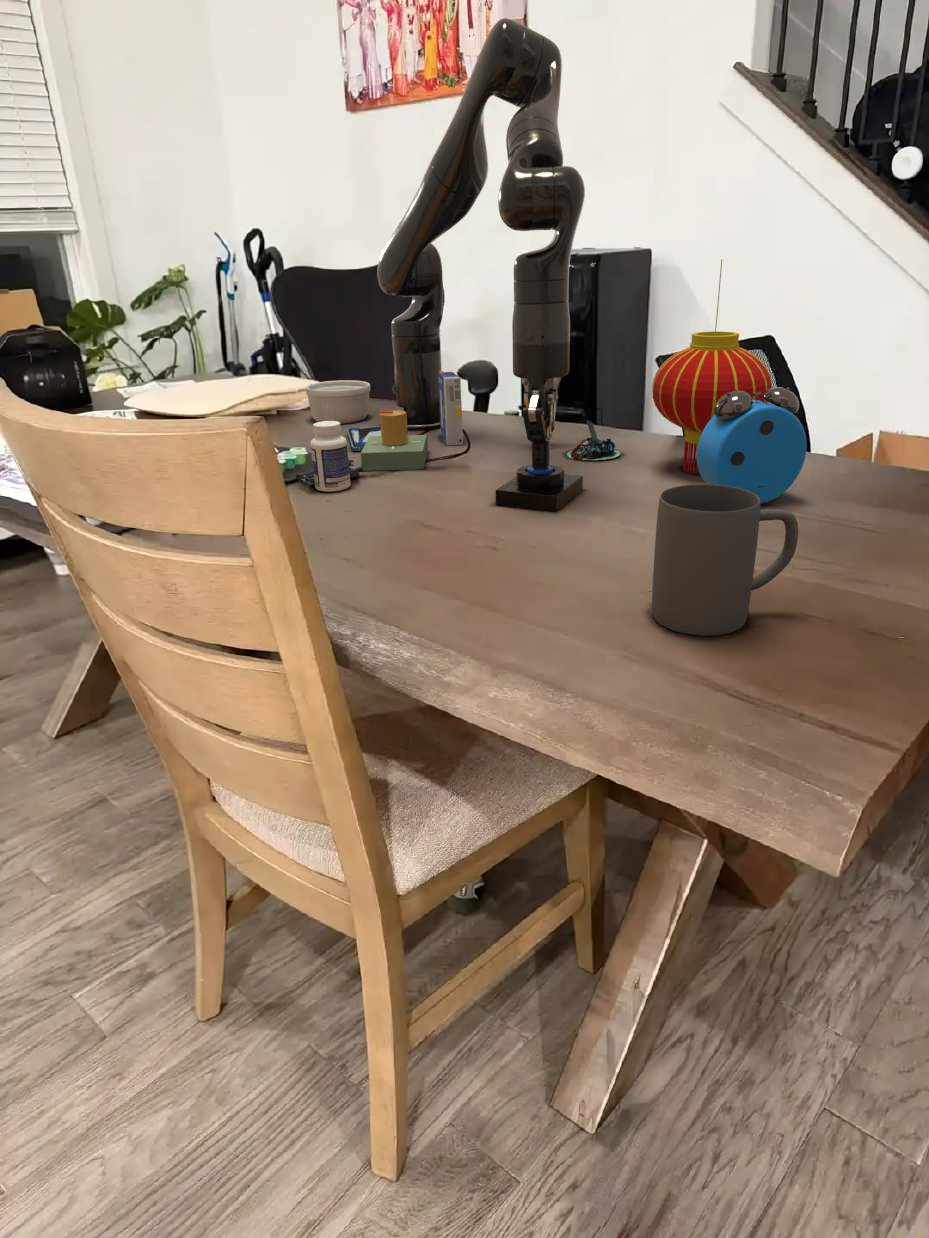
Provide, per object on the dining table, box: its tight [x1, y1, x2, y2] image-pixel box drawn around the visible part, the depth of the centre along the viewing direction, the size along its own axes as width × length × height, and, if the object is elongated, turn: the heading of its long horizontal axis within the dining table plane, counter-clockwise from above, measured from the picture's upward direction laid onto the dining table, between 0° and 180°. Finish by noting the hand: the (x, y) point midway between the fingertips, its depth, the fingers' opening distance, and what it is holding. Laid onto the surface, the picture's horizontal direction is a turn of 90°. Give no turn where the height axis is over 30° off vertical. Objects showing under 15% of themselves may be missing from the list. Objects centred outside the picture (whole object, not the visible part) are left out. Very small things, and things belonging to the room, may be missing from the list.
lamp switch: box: [495, 464, 584, 512], centre depth 119 cm, size 11×9×4 cm
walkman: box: [438, 370, 464, 446], centre depth 152 cm, size 8×3×12 cm, turn 11°
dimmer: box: [360, 434, 429, 472], centre depth 141 cm, size 12×10×3 cm
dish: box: [566, 419, 622, 461], centre depth 141 cm, size 8×7×8 cm
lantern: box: [651, 259, 773, 475], centre depth 124 cm, size 17×17×30 cm
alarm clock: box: [696, 386, 808, 505], centre depth 112 cm, size 13×6×15 cm, turn 104°
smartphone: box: [346, 425, 381, 452], centre depth 156 cm, size 7×1×15 cm
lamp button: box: [527, 466, 553, 474], centre depth 119 cm, size 4×4×2 cm
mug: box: [651, 483, 799, 637], centre depth 80 cm, size 14×9×12 cm
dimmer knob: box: [379, 409, 409, 446], centre depth 140 cm, size 4×4×5 cm
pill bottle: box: [310, 421, 351, 493], centre depth 126 cm, size 5×5×10 cm
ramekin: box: [305, 379, 371, 425], centre depth 175 cm, size 13×13×7 cm
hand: (540, 467), depth 118 cm, fingers closed
